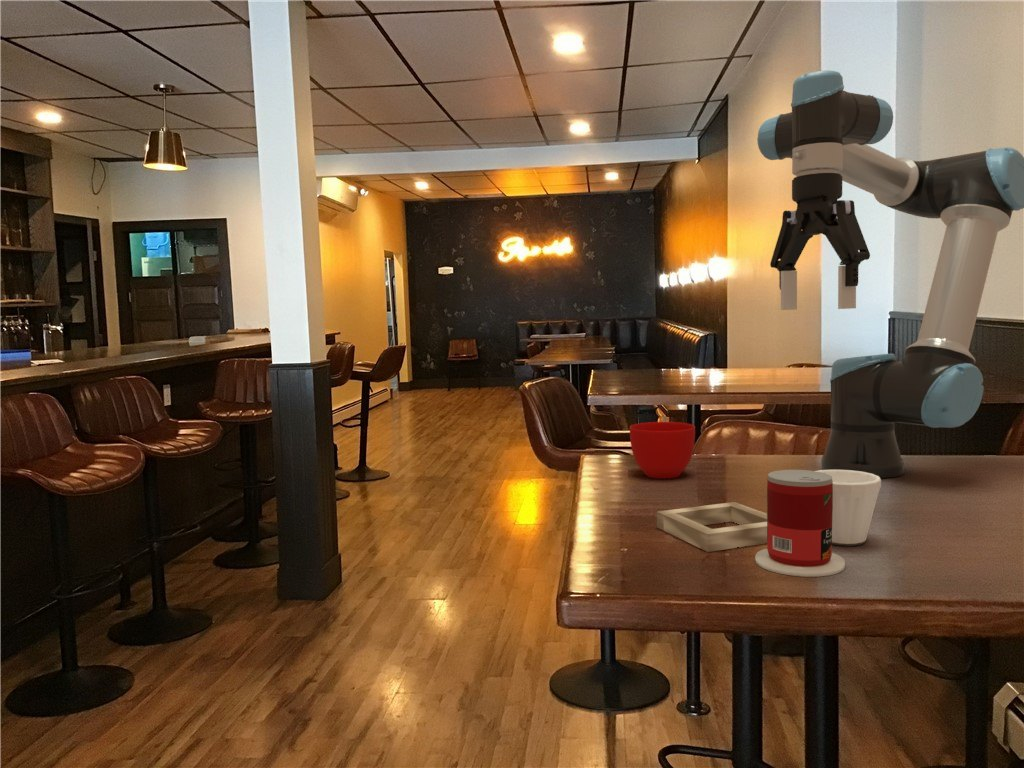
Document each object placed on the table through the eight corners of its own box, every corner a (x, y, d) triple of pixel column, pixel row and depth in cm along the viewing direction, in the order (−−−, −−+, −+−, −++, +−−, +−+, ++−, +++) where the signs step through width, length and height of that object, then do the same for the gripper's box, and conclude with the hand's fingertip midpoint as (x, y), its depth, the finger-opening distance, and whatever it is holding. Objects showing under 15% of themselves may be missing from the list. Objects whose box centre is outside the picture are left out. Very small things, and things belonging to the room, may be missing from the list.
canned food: (836, 568, 101) (837, 482, 100) (770, 566, 102) (770, 481, 101) (826, 550, 108) (827, 469, 107) (764, 548, 110) (764, 468, 109)
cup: (874, 554, 108) (875, 486, 107) (797, 545, 113) (797, 480, 112) (885, 535, 116) (886, 472, 116) (812, 527, 122) (813, 467, 121)
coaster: (805, 546, 112) (805, 542, 112) (864, 569, 102) (864, 564, 102) (738, 556, 109) (738, 552, 109) (792, 581, 98) (792, 576, 98)
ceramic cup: (711, 468, 168) (710, 421, 167) (681, 484, 154) (681, 432, 153) (652, 463, 175) (652, 418, 174) (619, 478, 161) (618, 429, 160)
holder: (734, 517, 129) (734, 501, 129) (792, 539, 116) (792, 522, 116) (656, 527, 124) (656, 511, 124) (707, 552, 111) (707, 534, 111)
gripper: (749, 186, 139) (749, 310, 140) (855, 159, 115) (854, 308, 117) (785, 187, 141) (785, 309, 143) (896, 161, 118) (895, 307, 119)
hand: (816, 309), depth 130 cm, fingers open, 13 cm apart
